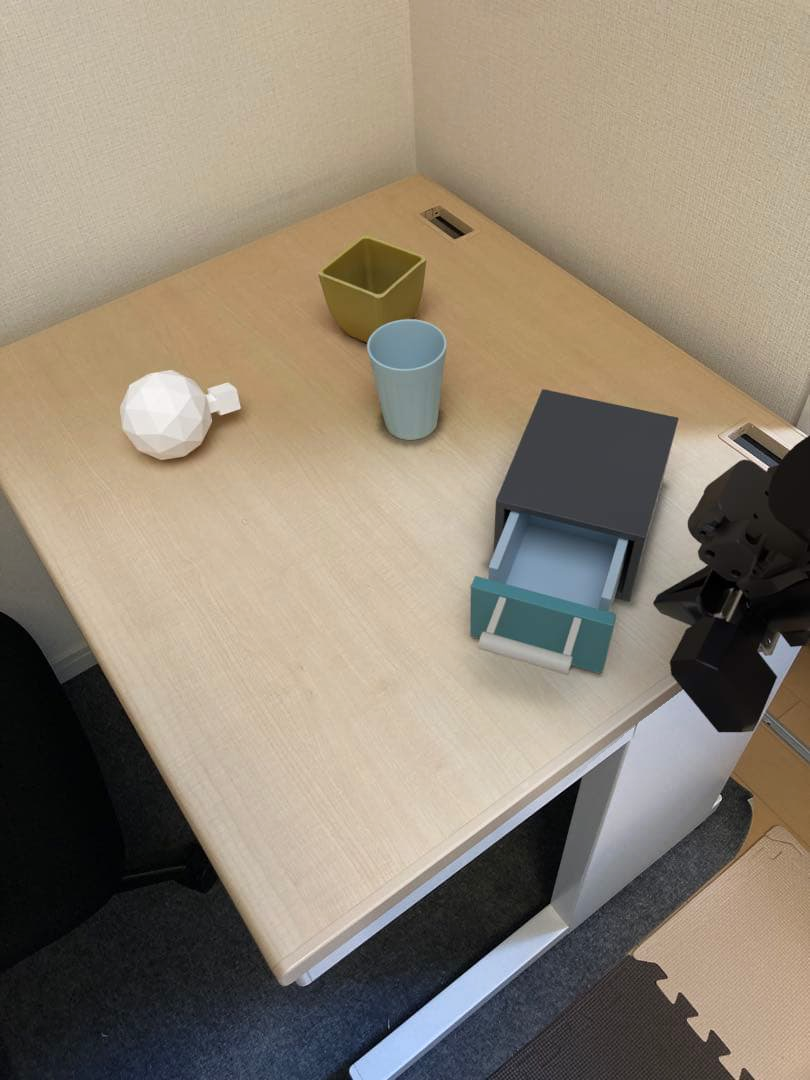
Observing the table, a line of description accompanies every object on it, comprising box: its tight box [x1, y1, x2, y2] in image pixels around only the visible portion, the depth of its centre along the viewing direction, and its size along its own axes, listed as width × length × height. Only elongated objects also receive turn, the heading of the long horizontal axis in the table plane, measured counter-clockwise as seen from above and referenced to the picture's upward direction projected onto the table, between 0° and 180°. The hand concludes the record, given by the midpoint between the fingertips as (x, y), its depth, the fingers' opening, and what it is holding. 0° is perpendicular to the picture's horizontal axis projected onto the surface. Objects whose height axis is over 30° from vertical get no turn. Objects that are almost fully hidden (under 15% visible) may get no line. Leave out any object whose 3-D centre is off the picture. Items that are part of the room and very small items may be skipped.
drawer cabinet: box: [493, 388, 679, 602], centre depth 82 cm, size 15×13×9 cm
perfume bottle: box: [119, 369, 242, 461], centre depth 92 cm, size 9×9×12 cm
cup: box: [366, 318, 448, 441], centre depth 92 cm, size 8×8×10 cm
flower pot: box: [317, 234, 427, 344], centre depth 102 cm, size 9×9×9 cm
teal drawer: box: [469, 510, 631, 676], centre depth 76 cm, size 18×11×8 cm, turn 159°
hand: (658, 604), depth 64 cm, fingers closed
